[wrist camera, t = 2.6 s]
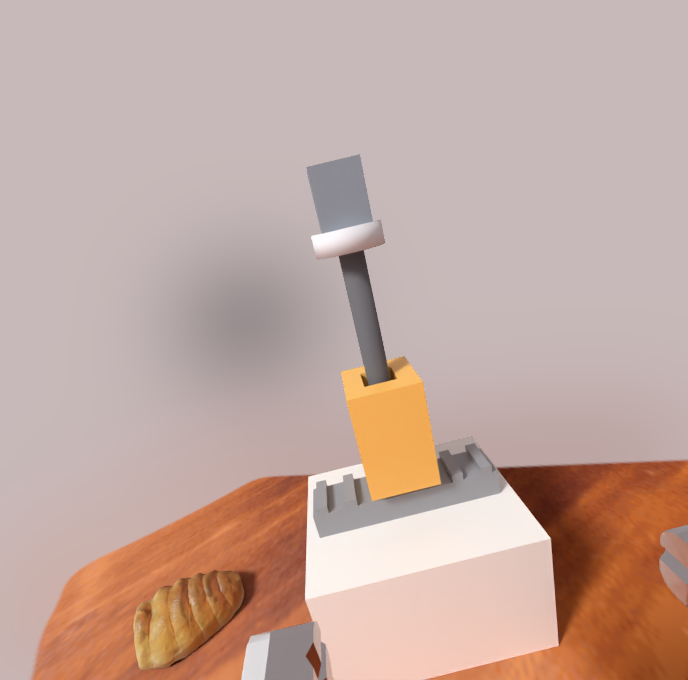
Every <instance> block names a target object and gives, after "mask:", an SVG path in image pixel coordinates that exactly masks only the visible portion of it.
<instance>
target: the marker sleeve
mask: <svg viewBox="0 0 688 680" xmlns="http://www.w3.org/2000/svg"><path fill="white" fill-rule="evenodd" d="M387 365H388V370H389V375H390V380H391V381H387V382H382V383H378V384H374V385H370V386H369V385H368V381H367V377H366V372H365V368H364V366H363V367H359V368H355V369H350V370H346V371H342V372H341V374H342V379H343V385H344V389H345V395H346V400H347V405H348V408H349V412H350V416H351V421H352V424H353V428H354V432H355V436H356V440H357V444H358V448H359V452H360V456H361V460H362V464H363V468H364V472H365V476H366V480H367V484H368V488H369V492H370V496H371V499H372V501H375V500H379V499H383V498H387V497H391V496H395V495H399V494H403V493H407V492H411V491H415V490H419V489H423V488H427V487H432V486H436V485H440V484H441V480H440V475H439V469H438V463H437V458H436V452H435V447H434V441H433V436H432V430H431V425H430V419H429V414H428V408H427V402H426V397H425V391H424V385H423V381H422V380H421V379H420V377H419V376H418V375H417V373H416V372H415V370H414V369H413V368H412V366H411V365H410V364H409V362H408V361H407V359H406V358H405V357H404V356H403V357H399V358H395V359H391V360H387Z"/></svg>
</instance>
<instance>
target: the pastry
mask: <svg viewBox="0 0 688 680" xmlns="http://www.w3.org/2000/svg"><path fill="white" fill-rule="evenodd" d="M243 599H244V588H243V585H242V582H241V579H240V575H239V574H238V573H236V572H232V571H221V572H219V571H217V570H214V571H212V572H210V573H208V574H201V573H198V574H196V575H195V576H193V577H192V578H182V579H178V580H177V581H176V583H175V584H174V586H164V587H162V588H160V589H159V590H158V591H157V593H156V595H155V597H154V598H153V599H152V600H149V601H147V602H143V603H141V604H140V605H139V606H138V608H137V611H136V614H135V619H134V624H133V628H134V632H135V636H134V642H135V649H136V656H137V659H138V663H139V664H138V665H139V667H140V669H143V670H150V669H158V668H166V667H170V665H171V664H173V663H174V662H176V661H178V660H180V659H184V658H185V657H187V656H188V655H189V654H191V653H192V652H193V651H195V650H196V649H197V648H198V647H199V646H200V645H202V644H203V643H205V642H206V641H207V640H208V639H209V638H210V637H212V636H213V635H214V634H215V633H216V632H217V631H219V630H220V629H221V628H222V627H223V626H224V625H225V624H226V623H228V622H229V621H230V620H231V619H232V617H233V615H234V614H235V612H236V611H237V610H238V609H239V608H240V606H241V604H242V601H243Z"/></svg>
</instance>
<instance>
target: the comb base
mask: <svg viewBox="0 0 688 680" xmlns="http://www.w3.org/2000/svg"><path fill="white" fill-rule="evenodd" d="M434 447H435V452H436V458H437V463H438V469H439V475H440V480H441V484H440V485H436V486H432V487H427V488H423V489H419V490H415V491H411V492H407V493H403V494H399V495H395V496H391V497H387V498H383V499H379V500H375V501H372V499H371V496H370V492H369V488H368V484H367V480H366V476H365V472H364V468H363V464H358V465H354V466H350V467H346V468H342V469H338V470H334V471H330V472H326V473H322V474H318V475H314V476H310V477H309V480H308V516H307V553H306V590H305V601H306V603H307V606H308V609H309V612H310V615H311V617H312V620H313V621H317V623H318V625H319V628H320V630H321V642H323V643H324V644H326V647H327V650H328V654H329V658H330V662H331V670H332V676H333V679H334V680H425V679H429V678H433V677H437V676H441V675H445V674H449V673H453V672H457V671H461V670H465V669H469V668H473V667H477V666H481V665H485V664H489V663H493V662H497V661H501V660H505V659H509V658H513V657H517V656H521V655H524V654H528V653H532V652H536V651H540V650H544V649H548V648H552V647H556V646H559V643H558V629H557V616H556V602H555V589H554V575H553V562H552V548H551V538H550V537H549V535H548V534H547V533H546V532H545V530H544V529H543V528H542V526H541V525H540V524H539V523H538V521H537V520H536V519H535V517H534V516H533V515H532V513H531V512H530V511H529V510H528V508H527V507H526V506H525V504H524V503H523V502H522V501H521V499H520V498H519V497H518V495H517V494H516V493H515V492H514V490H513V489H512V488H511V486H510V485H509V484H508V482H507V481H506V480H505V479H504V477H503V476H502V475H501V473H500V472H499V471H498V470H497V468H496V467H495V466H494V464H493V463H492V462H491V461H490V459H489V458H488V457H487V455H486V454H485V453H484V451H483V450H482V449H481V448H480V446H479V445H478V444H477V442H476V441H475V440H474V438H473V437H467V438H463V439H459V440H455V441H452V442H447V443H444V444H439V445H435V446H434Z"/></svg>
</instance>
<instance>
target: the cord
mask: <svg viewBox="0 0 688 680" xmlns="http://www.w3.org/2000/svg"><path fill="white" fill-rule="evenodd" d="M307 174H308V178H309V183H310V187H311V191H312V195H313V200H314V203H315V208H316V212H317V216H318V220H319V224H320V229H321V233H322V234H319V235H314V236H311V238H312V242H313V246H314V250H315V254H316V258H317V259H325V258H331V257H336V256H339V259H340V263H341V268H342V272H343V276H344V281H345V285H346V290H347V294H348V298H349V303H350V307H351V311H352V315H353V320H354V324H355V329H356V333H357V337H358V342H359V346H360V350H361V355H362V358H363V364H364V368H365V372H366V377H367V381H368V385H369V386H370V385H374V384H378V383H382V382H387V381H391V380H390V375H389V370H388V365H387V360H386V356H385V351H384V346H383V341H382V337H381V332H380V327H379V322H378V318H377V312H376V308H375V303H374V298H373V293H372V288H371V284H370V279H369V274H368V269H367V265H366V260H365V255H364V250H366V249H369V248H373V247H376V246H379V245H382V244H384V243H385V240H384V235H383V230H382V224H381V220H377V221H373V220H372V215H371V210H370V204H369V200H368V194H367V189H366V184H365V179H364V174H363V169H362V164H361V159H360V155H356V156H351V157H347V158H343V159H339V160H334V161H330V162H326V163H322V164H318V165H314V166H309V167H307Z"/></svg>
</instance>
